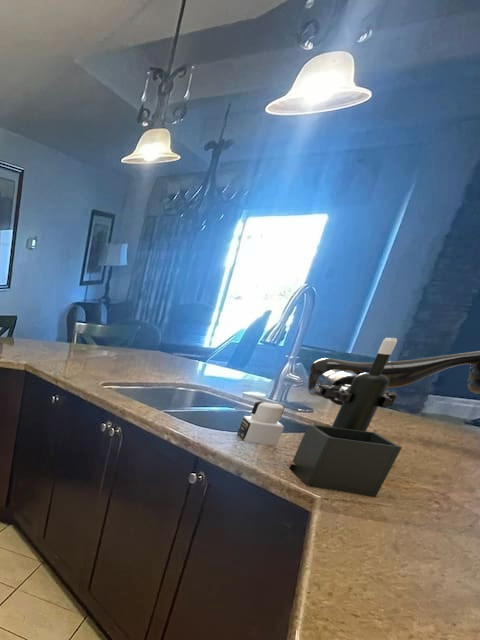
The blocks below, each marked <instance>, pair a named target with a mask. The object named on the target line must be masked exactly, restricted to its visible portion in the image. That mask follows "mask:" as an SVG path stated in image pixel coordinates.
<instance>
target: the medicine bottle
mask: <svg viewBox="0 0 480 640" xmlns="http://www.w3.org/2000/svg"><path fill="white" fill-rule="evenodd" d="M285 408H286V407H285V406H284V405H283V404H282V403H280V402H276V401H270V400H258V401H256V402H254V405H253V408H252V410H251V413H250V415H244V416H243V417H242V420H241V422H240V425H239V428H238V430H237V433H236V435H237V436H238V437H239V439H240V440H241V441H242V442H245V443H246V442H247V443H253V444H260V445H261V444H262V445H268V446H273V447H277V446H278V443H279V441H280V439H281V436H282V434H283V432H284V429H285V426H284V425H283V424H282V423H281V422H279V421H280V420H281V418H282V416H283V413H284V411H285Z"/></svg>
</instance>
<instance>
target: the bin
mask: <svg viewBox="0 0 480 640" xmlns="http://www.w3.org/2000/svg"><path fill="white" fill-rule="evenodd" d="M402 449H403V447H402V446H401V445H399V444H397V443H395V442H393V441H391V440H389V439H388V438H386V437H384V436H383V435H381V434H379V433H377V432H375V431H367V430H366V431H359V430H351V429H343V428H335V427H332V426H326V425H319V424H311V423H309V424H308V425H307V426H306V428H305V432H304V434H303V436H302V438H301V441H300V443H299V445H298V447H297V449H296V452H295V454H294V457H293V459H292V462H293V464H290V466H289V468H288V469H289V470H290V471H291V473H293V474H294V475H295V476H296V477H297V478H298V479H299V480H300V479H301V480H302V481H303V482H304V483H305V484H306V485H309V486H308V487H312V486H315V487H314V488H318V487H321V488H320V489H324V488H326V489H325V490H330V489H332V491H336V490H337V491H336V492H342V491H343V492H344V493H348V492H349V493H350V494H354V493H355V495H362V496H367V497H373V498H377V496H378V494H379V492H380V490H381V488H382V486H383V484H384V482H385V480H386V479H387V477H388V475H389V473H390V471H391V469H392V467H393V465H394V463H395V462H396V459H397V458H398V456H399V454H400V452H401V450H402ZM301 480H300V481H301ZM302 481H301V482H302ZM303 482H302V483H303ZM304 483H303V484H304ZM305 484H304V485H305ZM306 485H305V486H306Z"/></svg>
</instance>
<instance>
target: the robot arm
mask: <svg viewBox="0 0 480 640" xmlns="http://www.w3.org/2000/svg"><path fill="white" fill-rule="evenodd" d="M373 363H374V361H371V362H370V361H369V362H368V361H367V362H366V361H365V362H364V361H363V362H362V361H351V360H345V359H338V358H333V357H332V358H331V357H324V358H319V359H316V360H315V361H314V362H312V363H311V364H310V367H309V373H308V379H307V385H306V389H307V392H308V394H309V395H311V396H314V397H320V398H324V399H326V400H329V401H330V402H331V403H333V404H335V405H337V406H342V403H348V402H349V400H350V398H351V395H352V394H351V393H349V392H348V390H349V388H350V386H351V384H352V382H353V379H354V378H355V377H356V376H357V375H359V374H362V373H369V371H370V369H371V367H372V365H373ZM464 365H465V366H466V365H469V366H470V367H469V371H468V379H467V387H468V390H469V391H470V392H471V393H473V394H477V395H480V350H476V351H467V352H459V353H451V354H442V355H436V356H430V357H420V358H414V359H413V358H412V359H405V360H389V361H388V360H387V363H386V365H385V367H384V369H383V371H382V373H381V374H382V375H385V376H387V377H388V378H389V385H388V387H387V389H393V388H400V387H405V386H408V385H412V384H414V383H416V382H419V381H421V380H424V379H425V378H428V377H430V376H433V375H435V374H437V373H439V372H442V371H445V370H447V369H451V368H454V367H459V366H464ZM397 397H398V394H397V393H396V392H394V391H393V390H386V391H385V393H384V395H383V397H382V399H381V401H380V404H379V406H378V407H379V408H387V407H393V406H394V404H395V401H396V399H397Z"/></svg>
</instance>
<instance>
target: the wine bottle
mask: <svg viewBox="0 0 480 640" xmlns="http://www.w3.org/2000/svg"><path fill="white" fill-rule="evenodd" d="M397 342H398V338H396V337H385V338H384V339H383V340H382V342H381V344H380V346H379V348H378V351H377V354H376V356H375V359H374V361H373V362H374V363H373V365H372V367H371V369H370V371H369V373H362V374H359V375H357V376H356V377H355V378H354V379H353V382H352V384H351V386H350V388H349V390H348V392H349V393H351V394H352V395H351V398H350V400H349V402H348V403H342V405H340V408H339V410H338V412H337V415H336V417H335V419H334V421H333V423H332V425H331V427H335V428H343V429H351V430H359V431H367V430H368V428H369V426H370V424H371V422H372V420H373V418H374V416H375V414H376V412H377V409H378V407H380V406H379V404H380V401H381V399H382V397H383V395H384V393H385V392H387V389H388V388H387V387H388V385H389V378H388V377H387V376H385V375H382V374H381V373H382V371H383V369H384V367H385V365H386V363H387V361H388V360H389V359H390V356H391V355H392V353H393V351H394V349H395V347H396V345H397Z"/></svg>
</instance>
